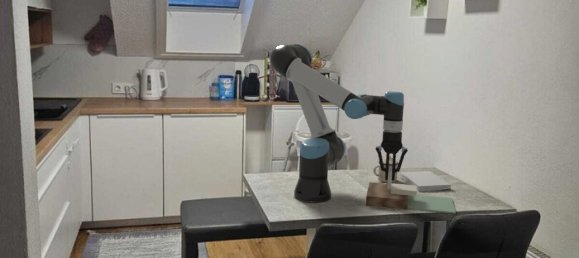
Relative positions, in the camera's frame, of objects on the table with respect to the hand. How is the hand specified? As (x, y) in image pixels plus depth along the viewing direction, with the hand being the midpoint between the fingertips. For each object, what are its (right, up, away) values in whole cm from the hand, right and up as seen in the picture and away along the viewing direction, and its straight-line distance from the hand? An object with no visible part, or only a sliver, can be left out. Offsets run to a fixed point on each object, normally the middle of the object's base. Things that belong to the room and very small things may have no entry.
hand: (389, 187), depth 213 cm
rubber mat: (+16, -6, -2) cm, 17 cm away
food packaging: (+21, -2, +26) cm, 33 cm away
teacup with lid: (+3, 0, +30) cm, 30 cm away
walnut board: (-1, -5, +1) cm, 5 cm away
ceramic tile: (+6, -2, -1) cm, 6 cm away
